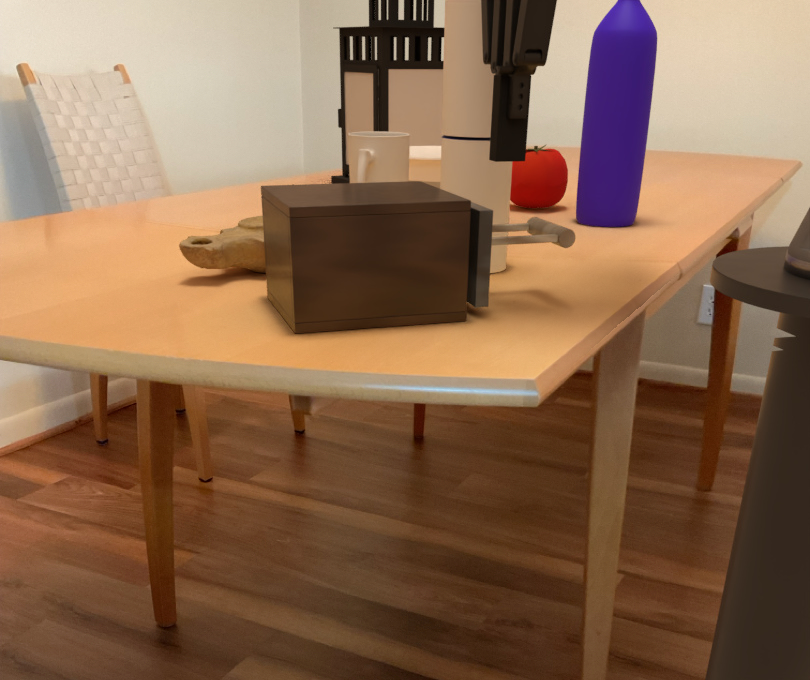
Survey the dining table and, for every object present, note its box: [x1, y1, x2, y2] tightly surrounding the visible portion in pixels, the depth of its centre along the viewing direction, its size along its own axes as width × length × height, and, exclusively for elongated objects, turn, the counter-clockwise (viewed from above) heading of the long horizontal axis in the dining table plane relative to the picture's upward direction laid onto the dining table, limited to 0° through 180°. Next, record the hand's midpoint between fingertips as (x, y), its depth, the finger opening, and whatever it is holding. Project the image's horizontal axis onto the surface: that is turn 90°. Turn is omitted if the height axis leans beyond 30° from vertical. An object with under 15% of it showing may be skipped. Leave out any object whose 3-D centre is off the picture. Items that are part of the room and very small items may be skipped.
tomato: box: [510, 144, 569, 210], centre depth 131 cm, size 9×10×8 cm
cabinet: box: [260, 181, 471, 334], centre depth 78 cm, size 15×13×10 cm
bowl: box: [409, 146, 441, 189], centre depth 121 cm, size 16×16×8 cm
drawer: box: [467, 202, 576, 309], centre depth 80 cm, size 22×11×8 cm, turn 108°
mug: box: [348, 131, 410, 183], centre depth 101 cm, size 10×7×12 cm, turn 163°
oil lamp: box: [178, 215, 266, 274], centre depth 92 cm, size 11×14×5 cm
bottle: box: [575, 0, 658, 228], centre depth 116 cm, size 8×8×30 cm
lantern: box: [330, 0, 444, 184], centre depth 145 cm, size 17×17×35 cm
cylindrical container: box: [440, 0, 512, 274], centre depth 90 cm, size 7×7×25 cm
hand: (507, 160), depth 78 cm, fingers closed
